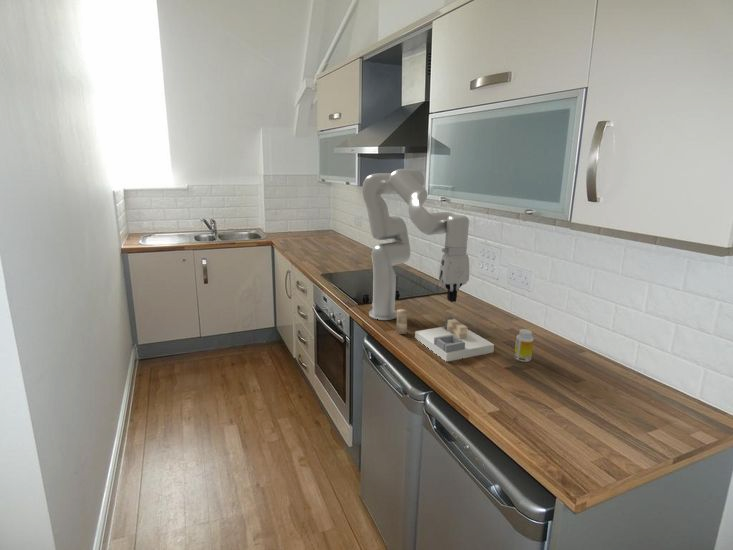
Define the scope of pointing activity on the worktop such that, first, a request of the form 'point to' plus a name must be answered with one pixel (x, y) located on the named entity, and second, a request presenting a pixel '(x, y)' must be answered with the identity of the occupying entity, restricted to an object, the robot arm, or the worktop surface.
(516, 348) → the supplement bottle
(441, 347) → the white board with frame
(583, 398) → the worktop surface
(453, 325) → the beige angular block
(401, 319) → the loose leg
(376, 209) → the robot arm
